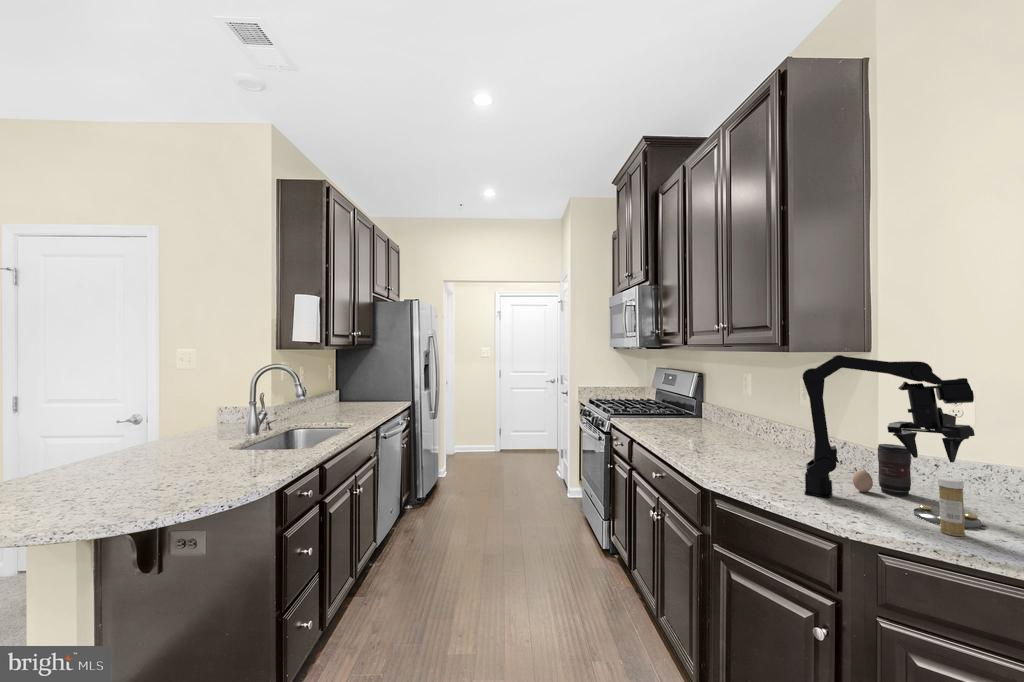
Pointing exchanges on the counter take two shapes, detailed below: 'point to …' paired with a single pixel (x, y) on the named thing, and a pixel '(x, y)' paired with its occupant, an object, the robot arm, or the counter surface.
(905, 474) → the camera lens
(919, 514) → the tribrach plate
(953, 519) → the sprinkles bottle
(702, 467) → the counter surface
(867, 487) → the egg
